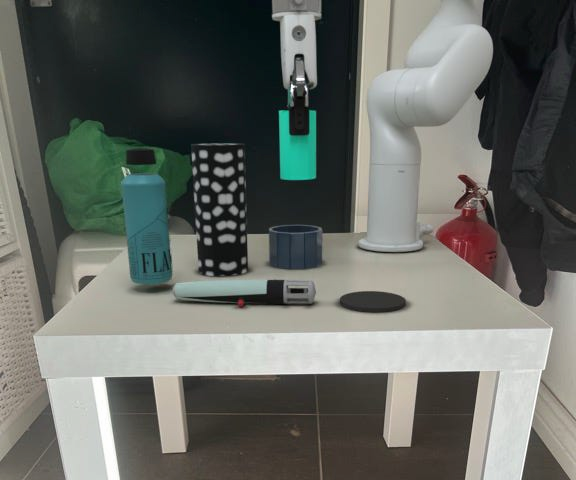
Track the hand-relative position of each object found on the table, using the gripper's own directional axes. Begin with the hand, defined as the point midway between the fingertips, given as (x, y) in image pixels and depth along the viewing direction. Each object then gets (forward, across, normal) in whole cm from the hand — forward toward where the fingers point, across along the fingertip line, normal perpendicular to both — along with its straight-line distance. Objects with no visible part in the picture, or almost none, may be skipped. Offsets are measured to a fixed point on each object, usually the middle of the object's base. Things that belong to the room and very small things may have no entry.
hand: (297, 133), depth 105 cm
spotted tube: (+21, -5, +13) cm, 26 cm away
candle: (+7, 0, 0) cm, 7 cm away
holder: (+21, 0, +1) cm, 21 cm away
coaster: (+21, -27, -8) cm, 35 cm away
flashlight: (+21, -26, +10) cm, 35 cm away
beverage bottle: (+21, -17, +23) cm, 36 cm away
